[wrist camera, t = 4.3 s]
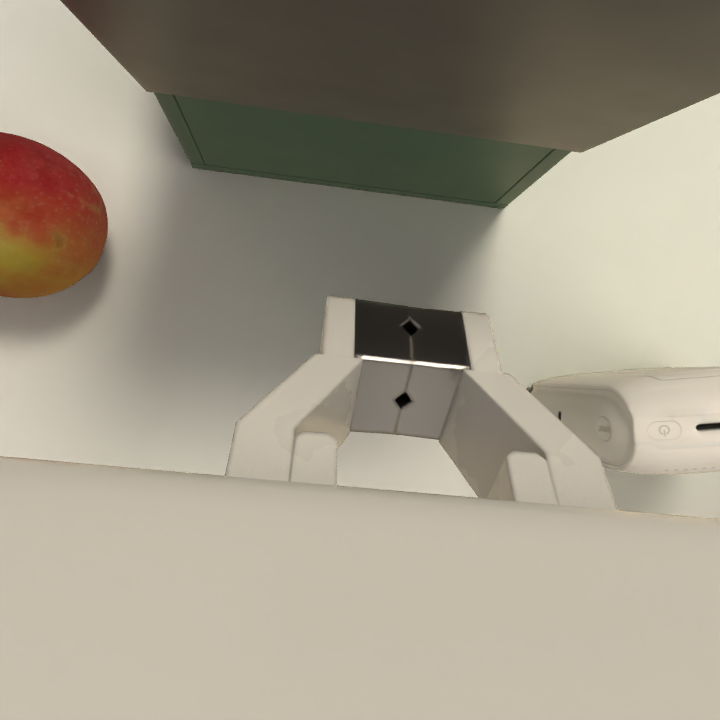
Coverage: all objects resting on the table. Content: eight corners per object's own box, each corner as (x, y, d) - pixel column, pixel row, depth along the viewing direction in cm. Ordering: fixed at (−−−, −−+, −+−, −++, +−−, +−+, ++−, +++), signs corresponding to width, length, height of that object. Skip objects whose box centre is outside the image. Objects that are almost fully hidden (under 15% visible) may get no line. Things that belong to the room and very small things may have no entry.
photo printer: (524, 453, 36) (641, 492, 23) (518, 377, 36) (630, 378, 24) (695, 436, 37) (893, 466, 24) (688, 363, 37) (882, 356, 25)
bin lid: (-132, -269, 9) (-134, -201, 9) (975, -67, 11) (962, -10, 11) (147, 67, 24) (145, 91, 24) (585, 130, 26) (582, 153, 26)
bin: (222, -90, 35) (191, -269, 25) (527, -39, 37) (609, -189, 27) (192, 168, 35) (149, 85, 25) (503, 208, 36) (578, 146, 26)
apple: (33, 134, 34) (-50, 59, 26) (152, 231, 34) (107, 186, 26) (-63, 241, 33) (-179, 198, 25) (59, 339, 34) (-16, 327, 26)
